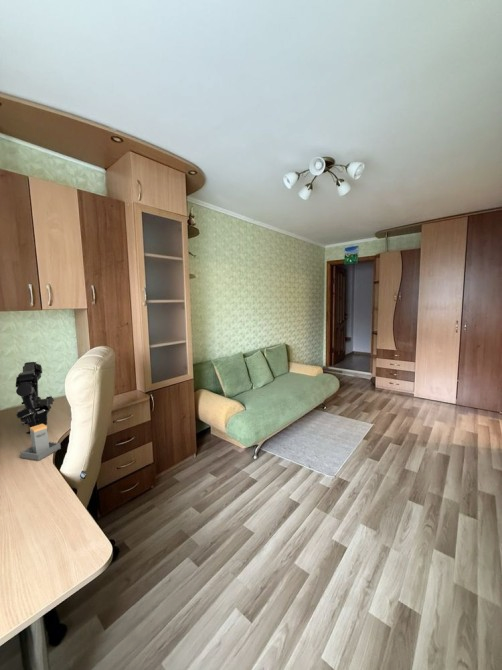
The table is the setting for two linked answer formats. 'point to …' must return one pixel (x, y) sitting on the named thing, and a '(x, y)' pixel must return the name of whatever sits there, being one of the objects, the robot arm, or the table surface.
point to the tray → (37, 457)
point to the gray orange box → (39, 438)
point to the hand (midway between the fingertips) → (41, 426)
